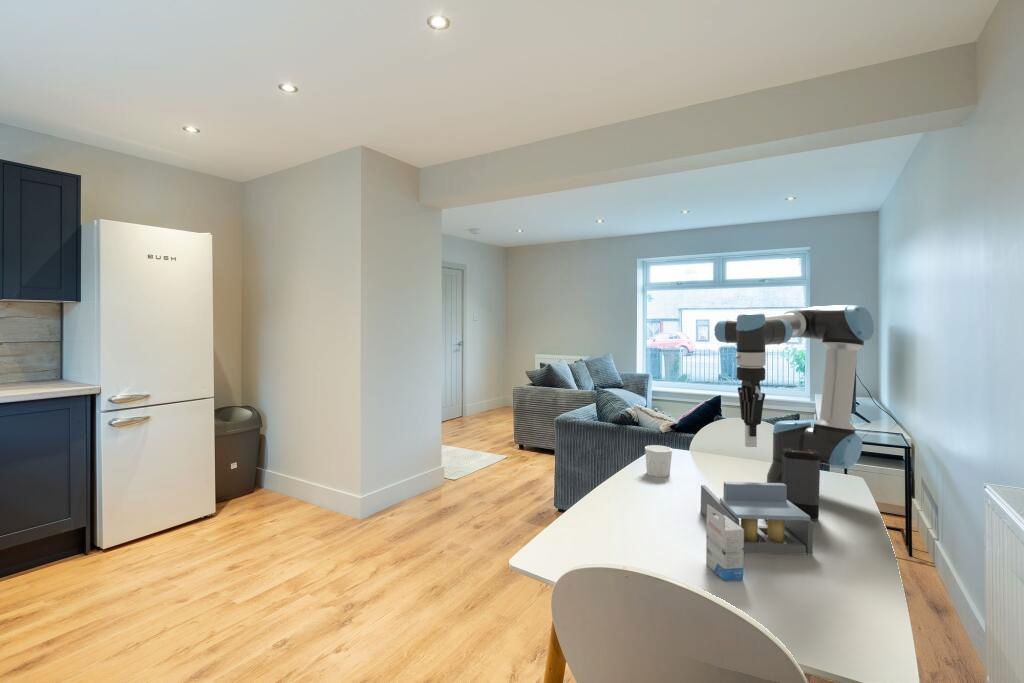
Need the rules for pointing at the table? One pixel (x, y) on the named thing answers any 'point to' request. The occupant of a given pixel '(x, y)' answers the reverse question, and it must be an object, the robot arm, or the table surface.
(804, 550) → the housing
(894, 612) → the table surface
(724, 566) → the ink box
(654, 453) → the cup
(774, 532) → the cylinder
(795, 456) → the electronic device
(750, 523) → the peg
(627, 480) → the table surface
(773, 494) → the lid
